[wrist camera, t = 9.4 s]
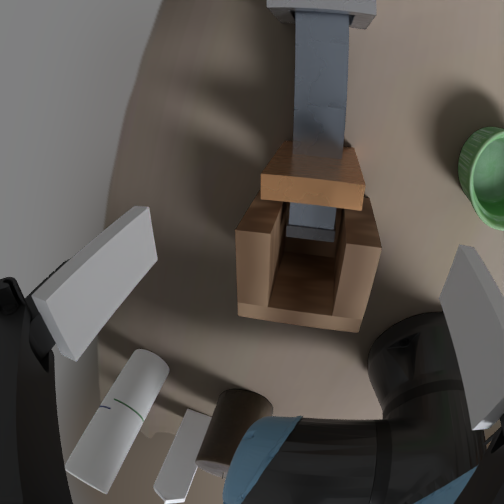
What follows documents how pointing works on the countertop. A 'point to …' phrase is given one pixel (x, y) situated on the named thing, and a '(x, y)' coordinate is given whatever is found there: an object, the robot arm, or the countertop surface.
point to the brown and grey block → (317, 133)
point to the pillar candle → (229, 428)
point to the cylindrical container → (118, 421)
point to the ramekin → (484, 174)
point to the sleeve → (326, 10)
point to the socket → (305, 268)
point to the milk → (182, 458)
